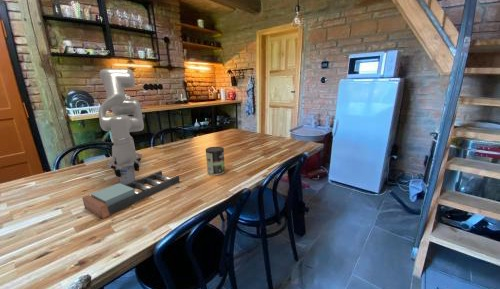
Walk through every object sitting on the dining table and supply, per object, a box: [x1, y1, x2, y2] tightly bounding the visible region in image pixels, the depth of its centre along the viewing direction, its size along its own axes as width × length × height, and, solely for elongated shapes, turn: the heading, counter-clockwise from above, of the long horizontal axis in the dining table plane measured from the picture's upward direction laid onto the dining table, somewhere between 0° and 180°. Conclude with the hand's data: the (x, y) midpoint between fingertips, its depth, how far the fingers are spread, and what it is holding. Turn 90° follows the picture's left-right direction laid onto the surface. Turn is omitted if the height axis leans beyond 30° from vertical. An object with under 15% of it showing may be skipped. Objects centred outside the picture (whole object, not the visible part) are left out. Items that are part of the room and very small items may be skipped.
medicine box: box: [119, 166, 136, 185], centre depth 115 cm, size 8×4×9 cm, turn 7°
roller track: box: [81, 170, 181, 219], centre depth 104 cm, size 15×38×5 cm, turn 148°
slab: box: [90, 182, 136, 206], centre depth 95 cm, size 12×12×3 cm
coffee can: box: [205, 146, 226, 176], centre depth 127 cm, size 10×10×14 cm
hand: (128, 173), depth 114 cm, fingers open, 9 cm apart
